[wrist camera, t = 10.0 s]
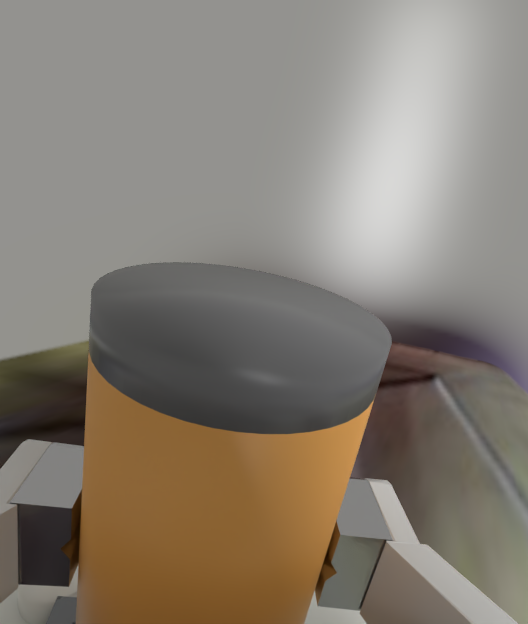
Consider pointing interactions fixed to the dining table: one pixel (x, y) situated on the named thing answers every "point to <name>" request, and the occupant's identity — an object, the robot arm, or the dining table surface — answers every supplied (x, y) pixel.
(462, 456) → the dining table surface
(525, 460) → the dining table surface
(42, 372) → the dining table surface
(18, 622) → the board
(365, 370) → the orange capped cylinder
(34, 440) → the robot arm
